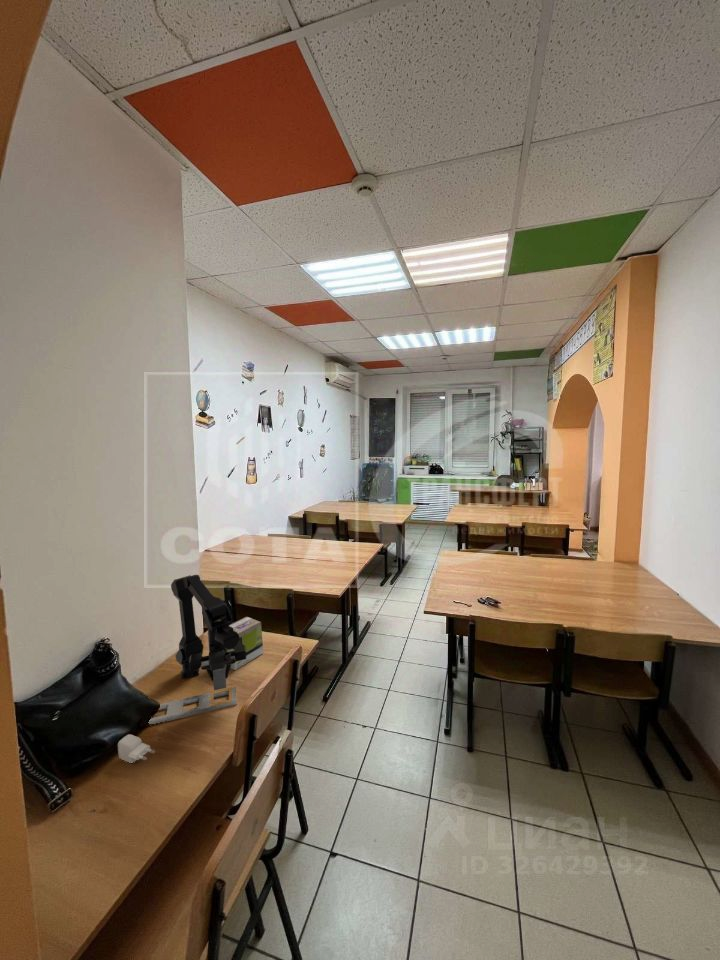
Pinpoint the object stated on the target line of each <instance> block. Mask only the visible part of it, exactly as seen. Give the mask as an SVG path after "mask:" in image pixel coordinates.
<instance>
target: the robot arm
mask: <svg viewBox="0 0 720 960" xmlns="http://www.w3.org/2000/svg"><path fill="white" fill-rule="evenodd" d="M170 588H171V591H172V594H173V596H174V597H175V598H176V599H177V600H178V606H179V614H180V625H181V633H182V636H181V638H180V641H179V643H178V651H177V652H176V654H175V655H174V656H175V659H176V660H175V661H176V662H177V663H178V664H179V665H180V666H181V668H182V669H181V675H180V679H181V680H182V679H187V678H191V677H198V676H199V675H200V670H201V671H203V670H204V671H206V672H207V673H208V676H209V677H210V679H211V681H212V682H213V671H214V670H217V669H223V668H225V669H226V680H227V679H228V677H229V673H230V669H231V668H230V667H231V665H232V664H234V663H235V662H236V661H240V660H245V659H246V646H245V645H240V646H236V645H237V643H238V642H239V634H238V633H237V632H236V631H234V630H233V628H232V627H230V626H229V625H230V624H232V623H234V620H233V615H232V613H231V611H230V608H229V607H228V605H227V604H226V602H224V601H223V599H221V598H220V597H218V596H214V595H213V594H212V593H211V591H210V589H208V588H207V586H206V585H205V584H204V582H202V580H201V577H200V575H199V574H194V575H187V576H183V577H182V576H181V577H179V578H175V579H173V581H172V583H171V584H170ZM193 598H195V600H196V601H197V602H198V603H199V605H200V606H201V608H202V609H201V610H202V611H201V615H202V618H203V620H204V622H205V625H206V626H207V639H208V641H207V642H208V655H204V656H203V652H204V643H203V640H202V639H201V638H200V637H199V636H198V635H197V632H196V622H195V614H194V613H195V612H194V604H193ZM232 648H234V650H229V651H227V649H232Z"/></svg>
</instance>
